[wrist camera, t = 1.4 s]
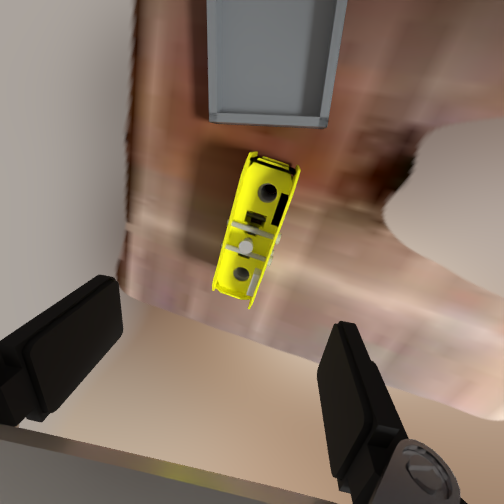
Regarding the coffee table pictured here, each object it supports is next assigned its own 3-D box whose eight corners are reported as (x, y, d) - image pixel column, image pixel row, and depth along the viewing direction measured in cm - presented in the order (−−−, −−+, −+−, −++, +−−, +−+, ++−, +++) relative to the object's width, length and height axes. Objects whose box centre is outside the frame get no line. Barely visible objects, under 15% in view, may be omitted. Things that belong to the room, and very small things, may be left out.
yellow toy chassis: (260, 280, 34) (251, 319, 26) (222, 267, 34) (202, 302, 26) (302, 166, 27) (307, 173, 19) (254, 150, 27) (240, 151, 19)
